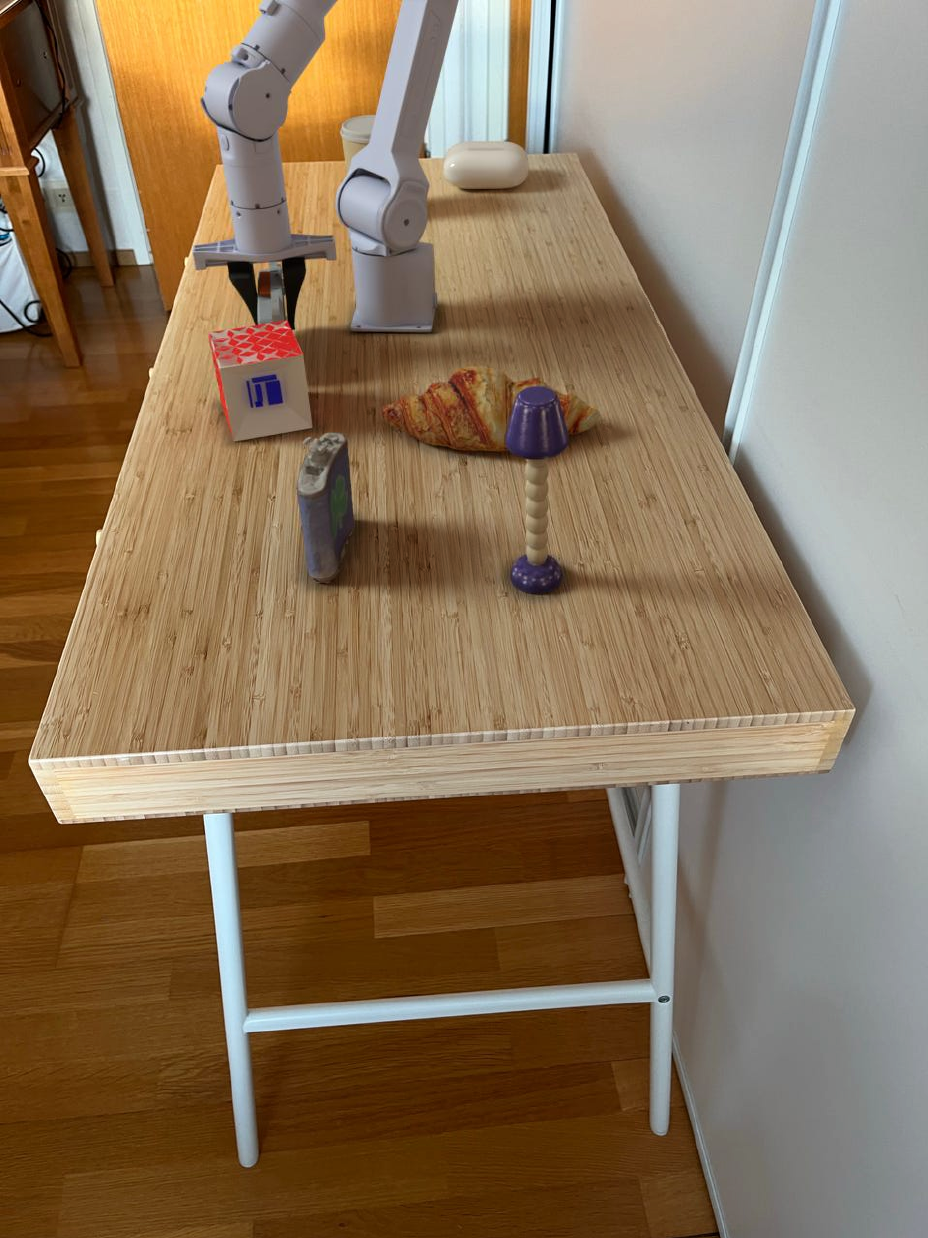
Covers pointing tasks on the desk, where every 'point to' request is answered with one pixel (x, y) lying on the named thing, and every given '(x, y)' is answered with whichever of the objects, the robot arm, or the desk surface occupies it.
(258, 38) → the robot arm
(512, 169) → the earbud case
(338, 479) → the flask
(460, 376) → the croissant
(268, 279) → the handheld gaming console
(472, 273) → the desk surface
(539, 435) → the toy lamp
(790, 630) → the desk surface
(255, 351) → the white and red cube
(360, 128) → the coffee cup
